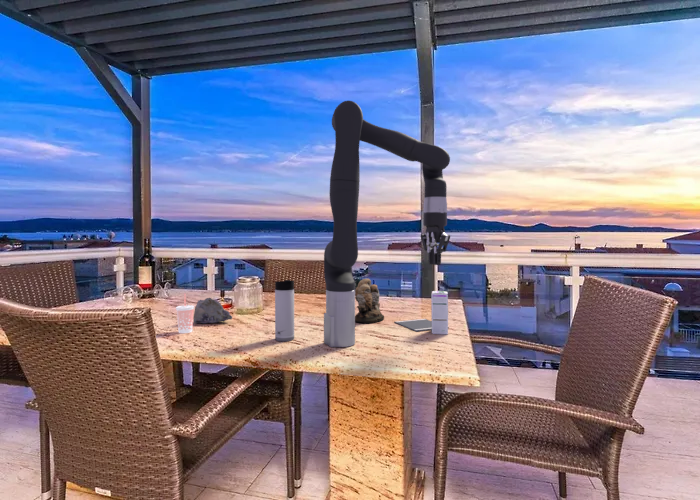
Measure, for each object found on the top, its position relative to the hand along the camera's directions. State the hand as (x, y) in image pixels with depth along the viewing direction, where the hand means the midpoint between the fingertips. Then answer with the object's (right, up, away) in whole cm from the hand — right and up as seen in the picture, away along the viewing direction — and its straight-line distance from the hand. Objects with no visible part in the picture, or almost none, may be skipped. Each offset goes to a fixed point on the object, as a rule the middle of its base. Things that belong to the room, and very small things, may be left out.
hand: (434, 264), depth 135 cm
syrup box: (+4, -25, +12) cm, 28 cm away
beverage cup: (-86, -25, +12) cm, 91 cm away
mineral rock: (-82, -24, +26) cm, 89 cm away
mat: (-1, -24, +23) cm, 33 cm away
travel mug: (-49, -25, +2) cm, 55 cm away
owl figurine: (-20, -24, +33) cm, 45 cm away
